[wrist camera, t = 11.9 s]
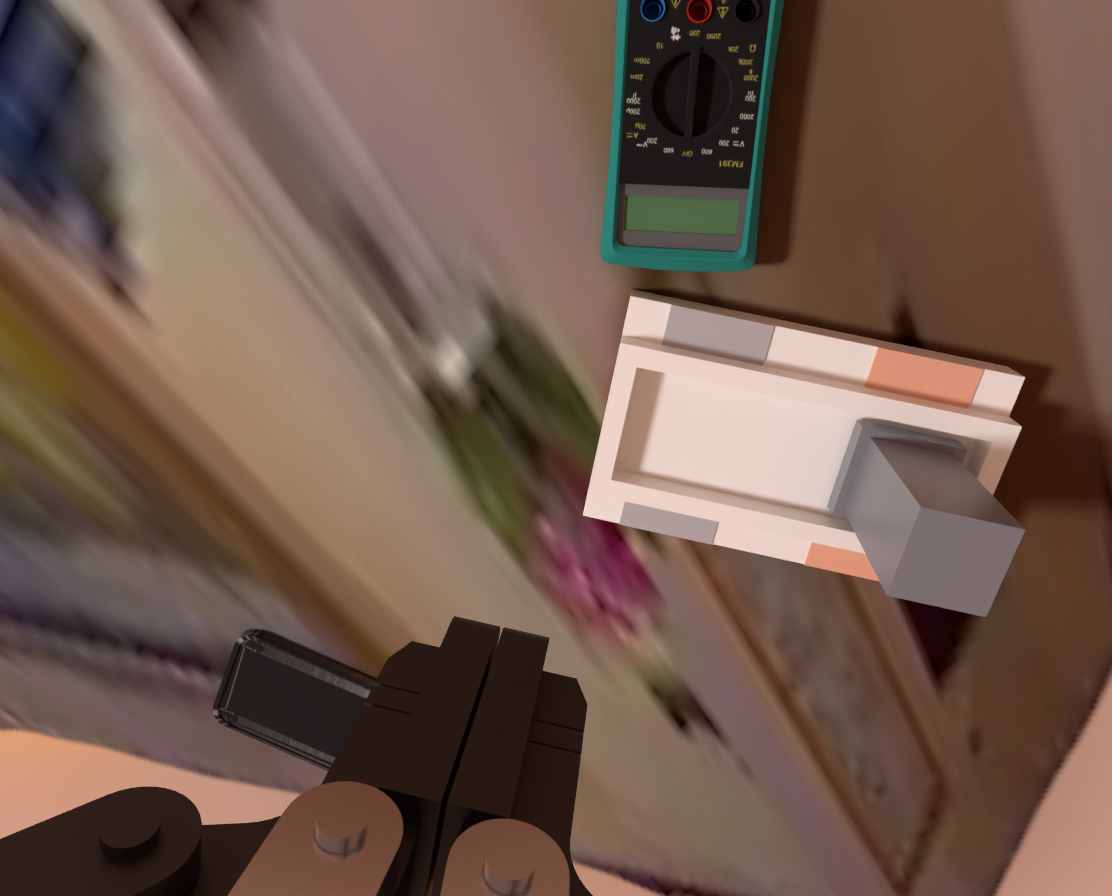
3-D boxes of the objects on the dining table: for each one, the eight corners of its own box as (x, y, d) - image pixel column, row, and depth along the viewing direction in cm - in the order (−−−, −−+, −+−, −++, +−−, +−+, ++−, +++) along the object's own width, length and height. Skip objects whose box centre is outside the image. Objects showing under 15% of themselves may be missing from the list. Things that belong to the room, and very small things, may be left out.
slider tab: (856, 419, 39) (911, 495, 31) (958, 440, 39) (1042, 523, 31) (826, 506, 41) (871, 601, 33) (924, 527, 41) (994, 628, 32)
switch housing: (631, 289, 41) (629, 301, 38) (1008, 366, 40) (1039, 386, 37) (585, 500, 45) (580, 527, 42) (923, 574, 44) (945, 608, 41)
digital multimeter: (790, -80, 35) (801, -99, 32) (749, 268, 40) (755, 277, 37) (621, -81, 36) (618, -100, 33) (602, 260, 41) (598, 268, 38)
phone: (239, 629, 50) (458, 727, 51) (248, 619, 51) (462, 715, 52) (208, 720, 53) (416, 811, 54) (217, 709, 54) (420, 799, 55)
